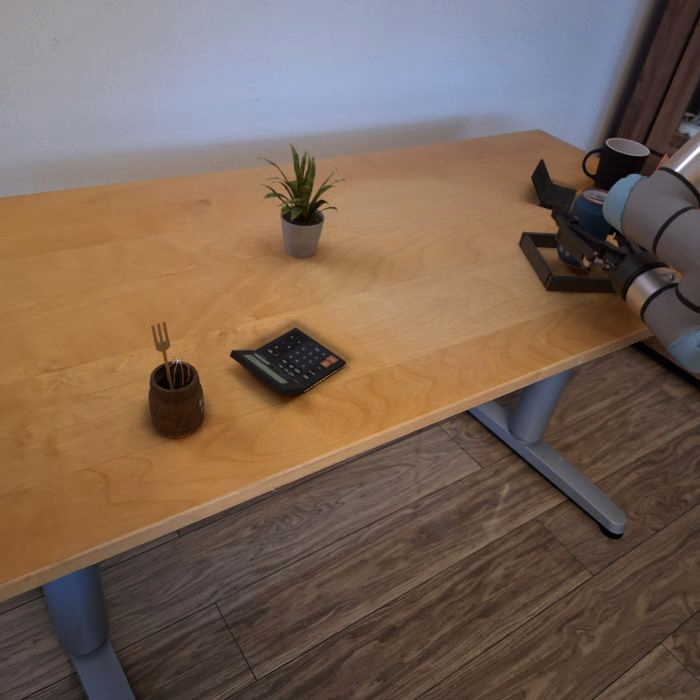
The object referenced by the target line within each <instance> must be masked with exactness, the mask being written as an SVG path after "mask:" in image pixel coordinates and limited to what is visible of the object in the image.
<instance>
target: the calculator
mask: <svg viewBox="0 0 700 700" xmlns="http://www.w3.org/2000/svg"><path fill="white" fill-rule="evenodd" d="M229 357H230V358H231V359H232V360H234V361H235V362H236V363H238V364H239V365H241V366H242V367H243V368H244V369H246V370H247V371H248V372H249V373H250V374H252V375H253V376H255V377H256V378H257V379H259V380H260V381H261V382H263V383H264V384H265V385H266V386H268V387H269V388H270V389H272V390H273V391H274V392H276V393H277V394H278V395H279V396H282V397H283V396H290V395H297V394H303V393H302V392H304V391H305V390H307V389H308V388H310V387H311V386H313V385H314V384H316V383H317V382H319V381H320V380H322V379H323V378H325V377H326V376H328V375H330V374H331V373H333V372H334V371H336V370H338V369H339V368H341V367H343V366H344V365H345V366H346V365H347V364H346V363H347V361H346V360H345V359H343V358H342V357H340V356H339V355H337V354H335V353H334V352H333V351H331V350H330V349H329V348H327V347H326V346H324V345H323V344H321V343H320V342H318V341H317V340H316V339H314V338H312V337H311V336H309V335H308V334H307V333H305V332H304V331H302V330H301V329H299V328H297V327H293V328H292V329H290V330H288V331H286V332H284V333H282V334H281V335H279V336H278V337H276V338H274V339H272V340H270V341H269V342H266V343H265V344H264V345H261V346H260V347H257V348H256V349H232V350H231V352H230V354H229ZM343 368H344V367H343Z"/></svg>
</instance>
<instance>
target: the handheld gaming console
mask: <svg viewBox="0 0 700 700" xmlns="http://www.w3.org/2000/svg"><path fill="white" fill-rule="evenodd" d="M530 179H531V182H532V185H533V187H534V189H535V190H534V191H535V192H536V195H537V197H538V200H539V204H538V206H539V207H542V208H545V209H548V210H552V211H553V208H554V205H555V202H560V203H561V204H562V205H563V206H564V207H565V208H566V209H567V210H568V211H569V212H570V211H571V208H572V206H573V203H574V201H575V197H576V195H577V192H578V189H575V188H572V187H567V186H565V185H561V184H557V183H554V181H553V180H552V179H551V176H550V174H549V171H548V168H547V166H546V163H545V161H544V159H543V158H541V159H540V160H539V162H538V164H537V165H536V167H535V168H534V170H533V172H532V174H531V176H530Z"/></svg>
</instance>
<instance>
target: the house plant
mask: <svg viewBox="0 0 700 700" xmlns="http://www.w3.org/2000/svg"><path fill="white" fill-rule="evenodd" d="M289 147H290V149H291V153H292V159H293V170H294V174H295V178H296V179H295V180H288V178H287V177H286V175H285V174H284V172H283V171H282V170H281V168H280V167H279V166H278V165H277V164H276V163H275V162H274V161H271V160H269V159H266V158H264V157H258V156H256V158H257V159H260V160H264V161H266V162H265V163H267V164H269V165H272V166H274V167H275V168H276V169H277V170H278V171H279V172H280V174H281V175H282V176H283V179H281V178H279V177H275V176H274V177H269V178H268V177H267V178H266V179H265V180H266V181H269V180H280V181H278V183H279V184H281V185H282V186H283V187H284V189H285V191H287V193H288V195H289V197H290V199H289V198H288V197H286V196H285V195H284V194H282V193H280V192H277V191H276V190H275V189H274V188H272V187H271V186H269V185H267V184H261V183H260V184H259V185H261V186H264V187H265V188H268V189H269V190H270V191H272V192H269V193H267V194H266V195H265V196H264V197H263V198H262V200H265V199H270V198H278V199H279V200H280V201H281V203H280V204H278V205H276V206H275V207H277V208H278V207H281V209H280V224H281V232H282V239H283V245H284V251H285V253H287V255H289V256H291V257H294V258H299V259H304V258H310V257H312V256H314V255H315V254H316V252H317V249H318V245H319V241H320V237H321V234H322V231H323V226H324V224H325V219H326V218H325V214H324V211H325V210H334V211H337V213H339V211H338V208H337V206H330V204H329V202H328V201H327V200H326V199H323V198H322V199H319V198H320V197H321V196H322V194H324V193H325V192H327V191H328V190H329V189H332V188H333V187H334V188H336V186H335V185H333V184H336V183H338V182H343V181H348V179H345V178H340V179H337V180H335V181H333V182H331V183H330V184H328V185H327V184H326V183H328V182H329V180H330V179H331V178H332V176H333V175H334V174H335V173H336V172H337V171H338V169H339V168H340V167H339V166H338V167H337V168H335V170H333V171H332V173H331V174H330V175H329V176H327V179H326V180H325V181H324V182H323V183H322V184H321V186H320V187H319V188H318V190H317V191H316V193H315V195H314V196H313V198H312V200H311V201H310V199H311V196H312V193H313V188H314V183H315V179H316V172H317V171H316V170H317V169H316V161H315V157H314V156H312V158H311V155H310V153H309V152H308V151H307V150H306V151H305V152H304V153H303V154H302V158H301V162H300V158H299V154H298V151H297V150H296V149H295V147H294V145H293V144H292V143H289ZM306 165H307V169H306ZM305 169H306V171H305ZM273 183H275V181H272V182H271V184H273ZM283 198H284V199H285V200H284V199H283ZM289 204H290V205H289ZM324 204H327V206H328V207H325V208H323V209H322V210H320V207H321V206H322V205H324Z"/></svg>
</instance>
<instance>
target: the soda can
mask: <svg viewBox="0 0 700 700" xmlns="http://www.w3.org/2000/svg"><path fill="white" fill-rule="evenodd" d="M607 194H608V191H605V190H602V189H597V188H595V187H587V188H584V189H583V190H582V191H581V194H579V195H578V196H577V197H576V198H574V200H573V203H572V206H571V208H570V211H569V212H570V214H571V215H572V216H573V217H574V218H575V219H576V220H577V224H576V225H578V226H579V227H581V228H582V229H584V230H586V231H587V232H589V233H590V234H592V235H593V236H595V237H597V238H598V239H600V240H601V241H603V242H604V241H607V239H608V236H609V235H608V234H609V232H610V229H611V227H612V225H611V224H610V223H608V222H607V221H606V220H605V218H604V215H603V204H604V200H605V198H606V196H607ZM556 251H557V256H558V259H559V260H560V262H561V263H562V264H564V265H566V266H568V267H571V268H574V269H581V270H583V269H582V267H581V265H580V263H579V262H578V261H577V260H576V259H575V258H574V257H573V256H572V255H571V254H570V253H569V252H568V251H567V250H566V249H565V248H564V247H562V246H561V245H560V244H558V247H556Z"/></svg>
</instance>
